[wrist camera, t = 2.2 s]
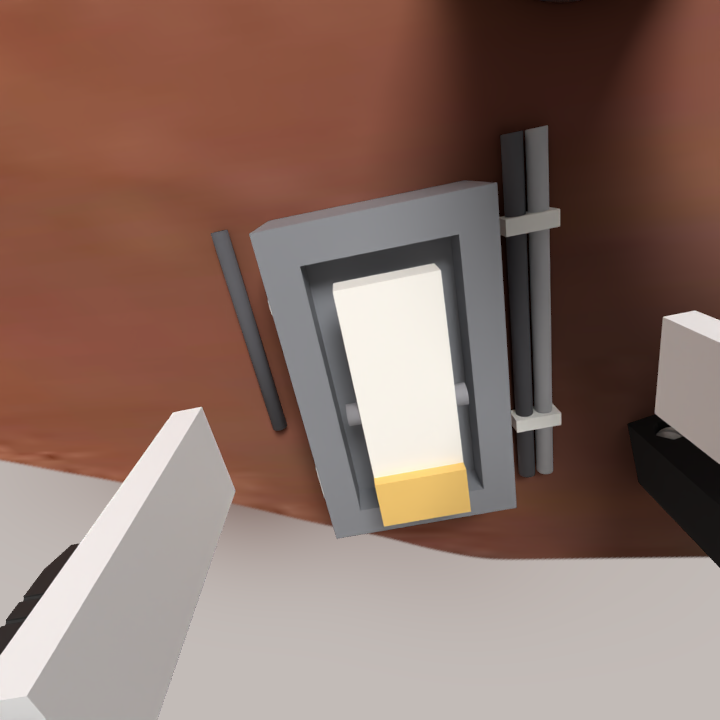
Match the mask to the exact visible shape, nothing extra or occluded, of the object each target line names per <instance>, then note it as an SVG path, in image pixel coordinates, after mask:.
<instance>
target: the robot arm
mask: <svg viewBox="0 0 720 720" xmlns="http://www.w3.org/2000/svg"><path fill="white" fill-rule="evenodd" d="M540 1H546V2H575V1H581V0H540ZM655 414H656V415H657V416H658V417H660V418H661V419H662V420H664V421H665V422H666V423H667V424H669V425H670V426H671V427H673V428H674V429H675V430H676V431H678V432H679V433H680V434H682V435H683V436H684V437H685V438H687V439H688V440H689V441H691V442H692V443H693V444H694V445H696V446H697V447H698V448H700V449H701V450H702V451H703V452H705V453H706V454H707V455H709V456H710V457H711V458H712V459H714V460H715V461H716V462H718V463H719V464H720V320H718V319H715V318H713V317H710V316H708V315H705V314H703V313H700V312H698V311H690V312H685V313H680V314H675V315H670V316H665V317H663V322H662V334H661V345H660V357H659V368H658V380H657V391H656V403H655ZM234 494H235V488H234V486H233V483H232V481H231V478H230V476H229V473H228V471H227V468H226V466H225V463H224V461H223V458H222V456H221V453H220V451H219V448H218V446H217V443H216V441H215V438H214V436H213V433H212V431H211V428H210V426H209V423H208V421H207V418H206V416H205V413H204V411H203V408H202V407H199V408H194V409H188V410H183V411H178V412H173V413H172V415H171V416H170V418H169V419H168V420H167V422H166V423H165V425H164V426H163V427H162V429H161V430H160V432H159V433H158V434H157V436H156V437H155V439H154V440H153V441H152V443H151V444H150V446H149V447H148V448H147V450H146V451H145V453H144V454H143V455H142V457H141V458H140V460H139V461H138V462H137V464H136V465H135V467H134V468H133V470H132V471H131V472H130V474H129V475H128V477H127V478H126V479H125V481H124V482H123V484H122V485H121V486H120V488H119V489H118V491H117V492H116V494H115V495H114V496H113V498H112V499H111V500H110V502H109V503H108V505H107V506H106V507H105V509H104V510H103V512H102V513H101V515H100V516H99V518H98V519H97V520H96V522H95V523H94V524H93V526H92V527H91V529H90V530H89V531H88V533H87V534H86V536H85V537H84V538H83V540H82V541H81V543H80V544H74V545H71V546H70V547H69V548H68V549H66V550H65V551H64V552H63V553H62V554H61V555H60V556H59V557H57V558H56V559H55V560H54V561H53V562H52V563H51V564H50V565H48V566H47V567H46V568H45V569H44V570H43V572H42V573H41V574H40V576H39V577H38V578H37V579H36V581H35V582H34V583H33V585H32V586H31V587H30V589H29V590H28V591H27V593H26V594H25V595H24V601H23V602H19V603H18V605H17V606H16V607H15V609H14V610H13V611H12V613H11V614H10V615H9V617H8V618H7V619H6V625H5V626H2V627H0V720H157V719H158V717H159V714H160V711H161V708H162V705H163V702H164V699H165V696H166V693H167V690H168V687H169V684H170V681H171V679H172V676H173V672H174V670H175V667H176V664H177V661H178V658H179V655H180V652H181V649H182V646H183V643H184V640H185V637H186V635H187V631H188V629H189V626H190V623H191V620H192V617H193V614H194V611H195V608H196V605H197V602H198V599H199V596H200V593H201V591H202V588H203V585H204V582H205V579H206V576H207V573H208V570H209V567H210V564H211V561H212V558H213V555H214V552H215V550H216V547H217V543H218V541H219V538H220V535H221V532H222V529H223V526H224V523H225V520H226V517H227V514H228V511H229V508H230V506H231V503H232V500H233V497H234Z"/></svg>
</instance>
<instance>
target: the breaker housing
mask: <svg viewBox="0 0 720 720" xmlns="http://www.w3.org/2000/svg"><path fill="white" fill-rule="evenodd" d="M249 235H250V238H251V242H252V245H253V249H254V252H255V256H256V259H257V263H258V266H259V270H260V273H261V277H262V280H263V284H264V287H265V291H266V294H267V298H268V304H269V307H270V311H271V314H272V315H273V318H274V322H275V325H276V329H277V332H278V336H279V339H280V343H281V346H282V350H283V353H284V357H285V360H286V364H287V367H288V371H289V374H290V378H291V381H292V385H293V388H294V392H295V395H296V399H297V402H298V406H299V409H300V413H301V416H302V420H303V423H304V427H305V430H306V434H307V437H308V441H309V444H310V448H311V451H312V455H313V458H314V462H315V465H316V471H317V474H318V478H319V481H320V485H321V488H322V492H323V495H324V497H325V500H326V503H327V507H328V510H329V514H330V517H331V521H332V524H333V528H334V531H335V535H336V538H344V537H349V536H355V535H361V534H367V533H373V532H378V531H384V530H390V529H396V528H402V527H407V526H413V525H419V524H425V523H431V522H436V521H442V520H448V519H454V518H460V517H465V516H471V515H477V514H483V513H489V512H494V511H500V510H506V509H512V508H517V507H516V490H515V473H514V456H513V439H512V423H511V406H510V389H509V372H508V356H507V339H506V322H505V305H504V289H503V272H502V255H501V238H500V222H499V205H498V188H497V183H495V182H480V181H465V180H464V181H459V182H454V183H450V184H445V185H440V186H435V187H430V188H425V189H421V190H416V191H411V192H406V193H401V194H397V195H392V196H387V197H382V198H377V199H372V200H368V201H363V202H358V203H353V204H348V205H343V206H339V207H334V208H329V209H324V210H319V211H314V212H310V213H305V214H300V215H295V216H290V217H285V218H281V219H276V220H271V221H268V222H266V223H265V224H263V225H262V226H260V227H259V228H257V229H256V230H254V231H253V232H251V233H250V234H249ZM433 263H434V264H435V265H436V266H437V267H438V268H439V269H440V270H441V276H442V284H443V293H444V301H445V310H446V318H447V327H448V336H449V344H450V353H451V361H452V370H453V378H454V384H457V383H462V382H464V383H465V385H466V388H467V391H468V396H469V404H468V405H463V406H457V412H458V421H459V429H460V438H461V446H462V455H463V463H464V465H465V468H466V472H467V481H468V489H469V498H470V507H471V512H466V513H460V514H454V515H448V516H443V517H437V518H431V519H425V520H419V521H414V522H408V523H402V524H396V525H390V526H385V527H384V524H383V520H382V515H381V511H380V506H379V502H378V497H377V493H376V488H375V482H374V475H373V471H372V466H371V462H370V457H369V453H368V448H367V444H366V439H365V435H364V430H363V426H362V424H360V425H354V426H349V423H348V418H347V413H346V404H350V403H355V402H357V399H356V395H355V390H354V386H353V381H352V377H351V372H350V368H349V363H348V359H347V354H346V350H345V345H344V341H343V336H342V332H341V327H340V323H339V318H338V314H337V309H336V305H335V300H334V296H333V283H337V282H342V281H347V280H352V279H357V278H362V277H367V276H372V275H377V274H383V273H388V272H393V271H398V270H403V269H408V268H413V267H418V266H423V265H428V264H433Z"/></svg>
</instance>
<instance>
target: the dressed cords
mask: <svg viewBox="0 0 720 720" xmlns="http://www.w3.org/2000/svg"><path fill="white" fill-rule="evenodd" d="M500 139H501V157H502V176H503V194H504V212H505V216H502V217H499V222H500V235H502V236H505V237H506V249H507V267H508V285H509V303H510V322H511V340H512V358H513V377H514V395H515V410H511V423H512V426H513V428H514V429H515V431H516V432H517V450H518V468H519V474H520V475H521V476H523V477H532V476H534V475H535V455H534V430H535V441H536V469H537V471H538V472H539V473H542V474H550V473H552V472H553V426H558V425H561V412H560V411H559V410H558V409H557V408H556V407H555V406H554V404H553V403H552V360H551V293H550V228H555V227H560V209H558V208H552V207H549V160H548V125H547V126H542V127H537V128H532V129H528V130H525V148H526V177H527V206H528V211H527V212H526V205H525V177H524V149H523V131H518V132H513V133H509V134H504V135H500ZM527 233H528V236H529V265H530V294H531V323H532V353H533V382H534V406H533V400H532V372H531V344H530V316H529V288H528V260H527Z"/></svg>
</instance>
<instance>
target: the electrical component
mask: <svg viewBox="0 0 720 720" xmlns="http://www.w3.org/2000/svg"><path fill="white" fill-rule="evenodd" d="M628 429H629V435H630V440H631V445H632V450H633V456H634V461H635V466H636V471H637V477H638V482H639V483H640V484H641V485H642V486H643V488H644V489H645V490H646V491H647V492H648V493H649V494H650V495H651V496H652V497H653V498H654V499H655V500H656V501H657V503H658V504H659V505H660V506H661V507H662V508H663V509H664V510H665V511H666V512H667V513H668V514H669V515H670V516H671V517H672V518H673V519H674V520H675V521H676V522H677V523H678V524H679V525H680V526H681V527H682V529H683V530H684V531H685V532H686V533H687V534H688V535H689V536H690V537H691V538H692V539H693V540H694V541H695V542H696V543H697V544H698V545H699V546H700V547H701V549H702V550H703V551H704V552H705V553H706V554H707V555H708V556H709V557H710V558H711V559H712V560H713V561H714V562H715V563H716V564H717V565H718V566H719V567H720V464H719V463H718V462H716V461H715V460H714V459H712V458H711V457H710V456H709V455H707V454H706V453H705V452H703V451H702V450H701V449H700V448H698V447H697V446H696V445H694V444H693V443H692V442H691V441H689V440H688V439H687V438H685V437H684V436H683V435H682V434H680V433H679V432H678V431H676V430H675V429H674V428H673V427H671V426H670V425H669V424H667V423H666V422H665V421H664V420H662V419H661V418H660V417H658V416H657V415H656V414H655V415H652V416H649V417H646V418H643V419H641V420H638V421H635V422H632V423H629V424H628Z"/></svg>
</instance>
